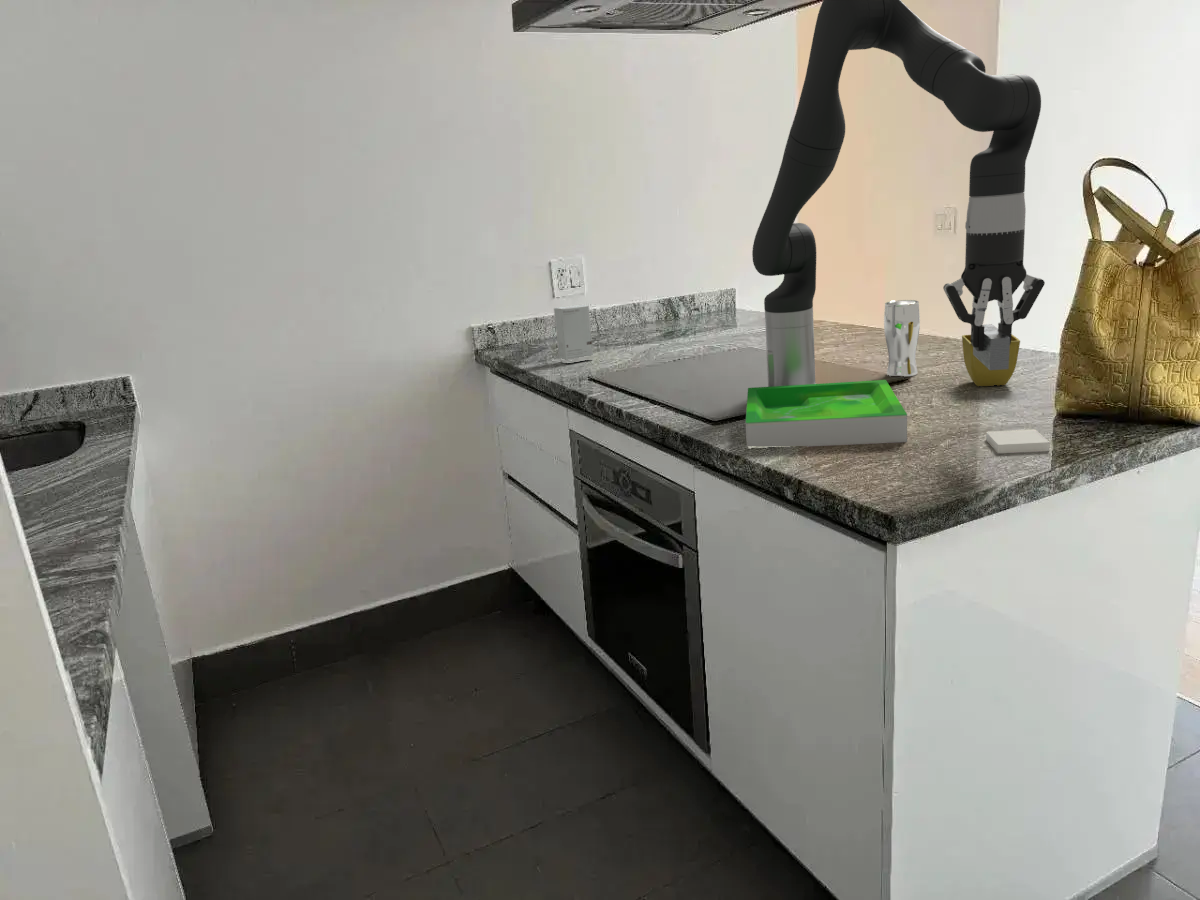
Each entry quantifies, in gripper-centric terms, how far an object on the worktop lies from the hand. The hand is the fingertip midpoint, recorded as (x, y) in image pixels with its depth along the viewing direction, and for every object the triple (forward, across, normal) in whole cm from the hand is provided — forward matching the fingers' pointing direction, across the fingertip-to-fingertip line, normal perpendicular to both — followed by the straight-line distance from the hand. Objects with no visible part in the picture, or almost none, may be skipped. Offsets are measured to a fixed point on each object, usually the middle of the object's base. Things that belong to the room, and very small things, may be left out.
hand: (990, 349), depth 127 cm
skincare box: (+17, -82, +94) cm, 126 cm away
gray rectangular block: (+2, 0, 0) cm, 2 cm away
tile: (+14, +1, 0) cm, 14 cm away
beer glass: (+16, -4, +53) cm, 55 cm away
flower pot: (+15, +10, +40) cm, 44 cm away
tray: (+16, -23, +17) cm, 33 cm away
